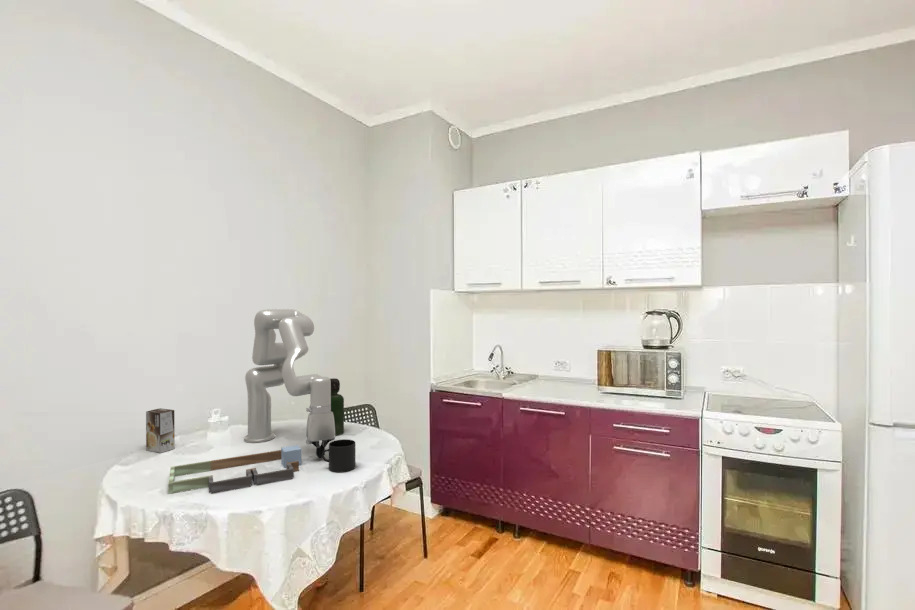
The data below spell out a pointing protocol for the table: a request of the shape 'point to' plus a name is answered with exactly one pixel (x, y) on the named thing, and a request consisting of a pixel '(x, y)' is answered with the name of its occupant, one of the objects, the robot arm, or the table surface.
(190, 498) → the table surface
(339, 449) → the mug
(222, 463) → the trap box
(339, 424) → the green bottle
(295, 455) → the block
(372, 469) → the table surface
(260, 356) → the robot arm
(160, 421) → the coffee box
